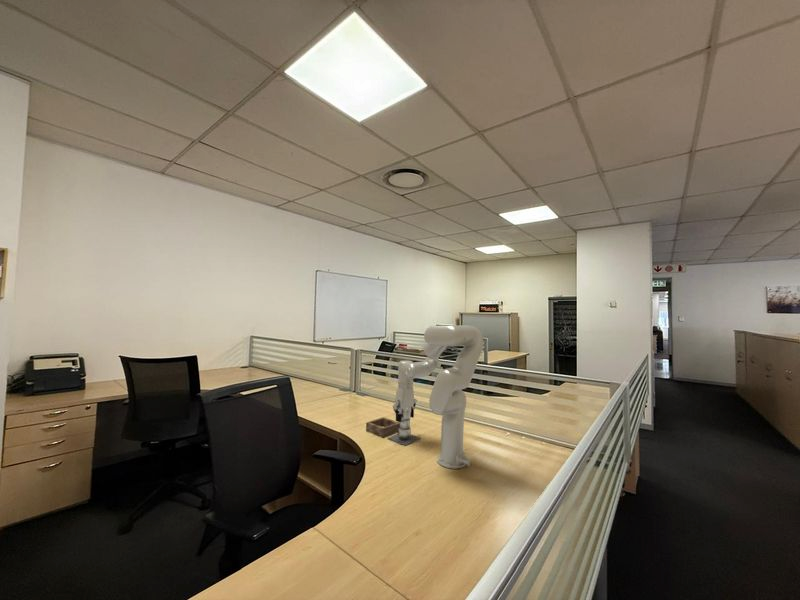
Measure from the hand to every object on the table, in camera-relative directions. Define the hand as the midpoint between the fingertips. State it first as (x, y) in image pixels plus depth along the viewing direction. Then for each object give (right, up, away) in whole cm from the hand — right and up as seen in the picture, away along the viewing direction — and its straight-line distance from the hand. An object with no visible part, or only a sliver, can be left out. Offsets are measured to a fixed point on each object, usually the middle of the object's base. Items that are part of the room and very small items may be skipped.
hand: (404, 419), depth 165 cm
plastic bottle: (0, -10, 0) cm, 10 cm away
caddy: (-11, -10, +10) cm, 18 cm away
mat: (0, -10, 0) cm, 10 cm away
